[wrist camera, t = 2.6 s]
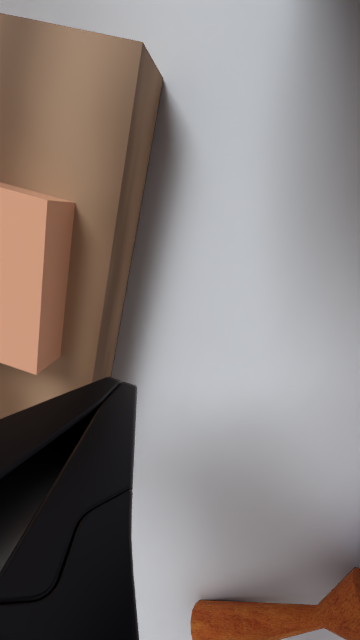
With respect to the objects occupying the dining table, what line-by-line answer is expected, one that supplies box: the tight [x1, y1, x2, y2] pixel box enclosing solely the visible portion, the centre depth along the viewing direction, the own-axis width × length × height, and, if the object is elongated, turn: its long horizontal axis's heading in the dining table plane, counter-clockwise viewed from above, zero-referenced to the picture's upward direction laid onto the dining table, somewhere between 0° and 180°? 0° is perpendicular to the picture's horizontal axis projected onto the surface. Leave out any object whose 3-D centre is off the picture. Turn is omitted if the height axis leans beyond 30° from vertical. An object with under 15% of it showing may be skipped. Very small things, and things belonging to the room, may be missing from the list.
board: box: [0, 13, 163, 419], centre depth 16 cm, size 11×20×3 cm, turn 166°
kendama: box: [191, 567, 360, 640], centre depth 20 cm, size 6×6×20 cm
